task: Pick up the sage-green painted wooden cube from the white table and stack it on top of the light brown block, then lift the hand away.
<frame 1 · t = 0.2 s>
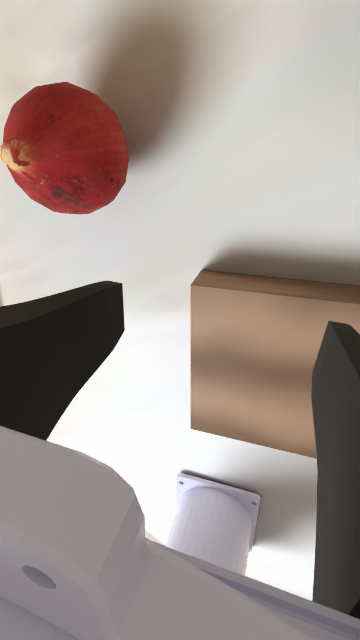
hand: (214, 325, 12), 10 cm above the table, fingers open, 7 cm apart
onion: (107, 149, 20), on the table
light brown block: (284, 360, 23), on the table
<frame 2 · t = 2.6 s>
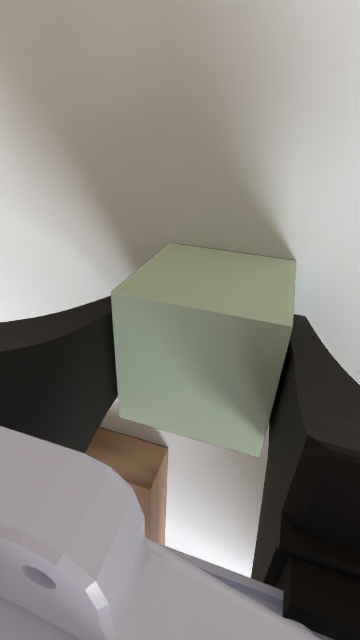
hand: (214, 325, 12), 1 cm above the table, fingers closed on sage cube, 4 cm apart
sage cube: (222, 307, 13), on the table, touching gripper
light brown block: (81, 482, 22), on the table
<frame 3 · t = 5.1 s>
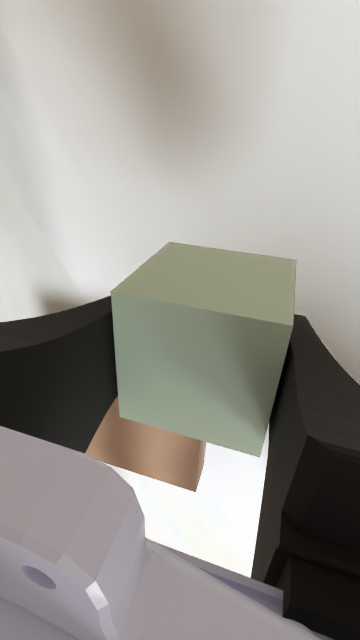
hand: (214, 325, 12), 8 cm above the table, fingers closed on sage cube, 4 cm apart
sage cube: (222, 307, 13), point 7 cm above the table, touching gripper
light brown block: (137, 397, 27), on the table
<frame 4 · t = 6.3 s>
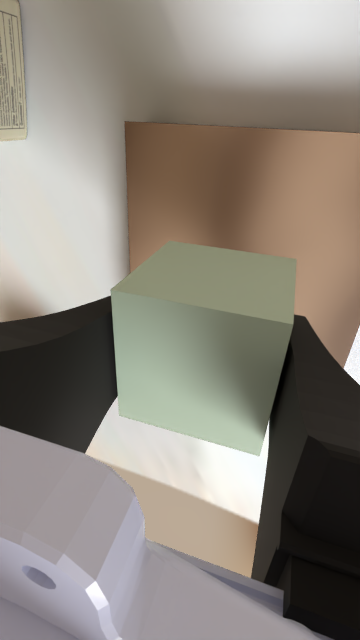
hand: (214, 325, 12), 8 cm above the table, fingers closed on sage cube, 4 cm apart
sage cube: (222, 306, 13), point 7 cm above the table, touching gripper
light brown block: (247, 252, 18), on the table
when the fingers open (5 cm above the table, at t = 7.5 s): sage cube stays where it is, resting on light brown block.
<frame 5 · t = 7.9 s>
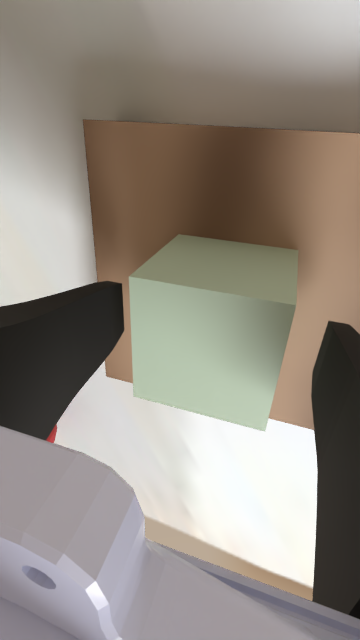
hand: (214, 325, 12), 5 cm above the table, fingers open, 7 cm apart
sage cube: (228, 295, 14), point 2 cm above the table, touching light brown block
light brown block: (237, 274, 16), on the table
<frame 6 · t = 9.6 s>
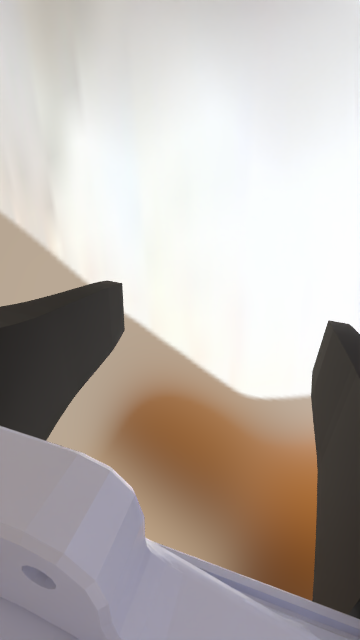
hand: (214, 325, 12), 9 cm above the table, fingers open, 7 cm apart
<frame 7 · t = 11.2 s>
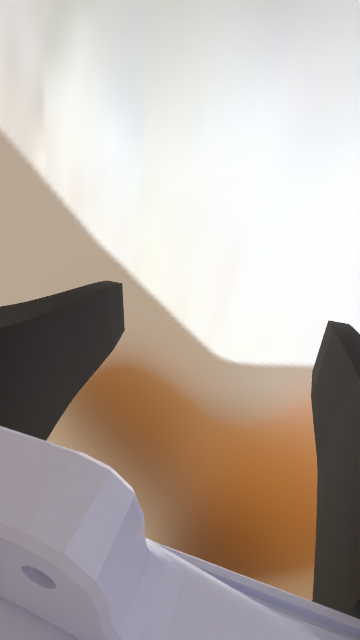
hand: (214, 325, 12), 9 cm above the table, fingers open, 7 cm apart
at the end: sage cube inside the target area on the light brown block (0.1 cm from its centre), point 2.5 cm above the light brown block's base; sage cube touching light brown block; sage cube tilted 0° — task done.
